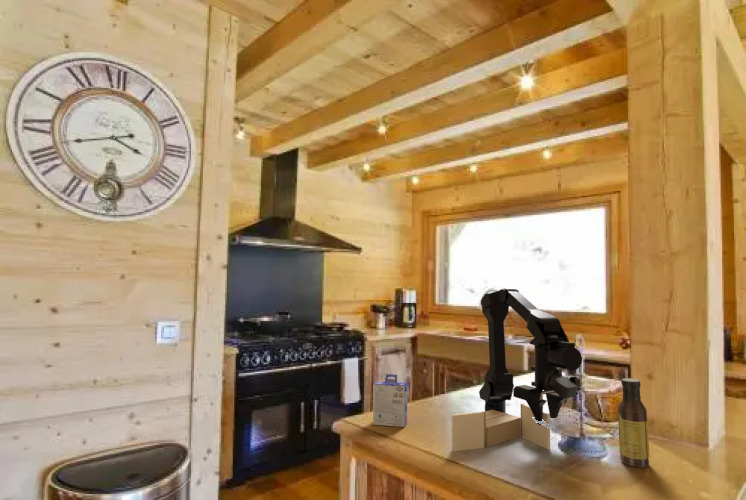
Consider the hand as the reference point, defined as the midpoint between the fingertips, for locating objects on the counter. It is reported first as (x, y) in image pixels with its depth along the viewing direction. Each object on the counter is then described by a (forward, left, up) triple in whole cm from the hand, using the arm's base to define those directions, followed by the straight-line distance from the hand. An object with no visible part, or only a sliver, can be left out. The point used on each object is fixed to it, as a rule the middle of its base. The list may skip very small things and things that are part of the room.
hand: (546, 423), depth 121 cm
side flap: (0, -4, -6) cm, 7 cm away
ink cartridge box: (+21, -39, -6) cm, 45 cm away
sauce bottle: (-7, +19, -6) cm, 21 cm away
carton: (+6, -14, -6) cm, 16 cm away
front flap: (+18, -11, -6) cm, 22 cm away
